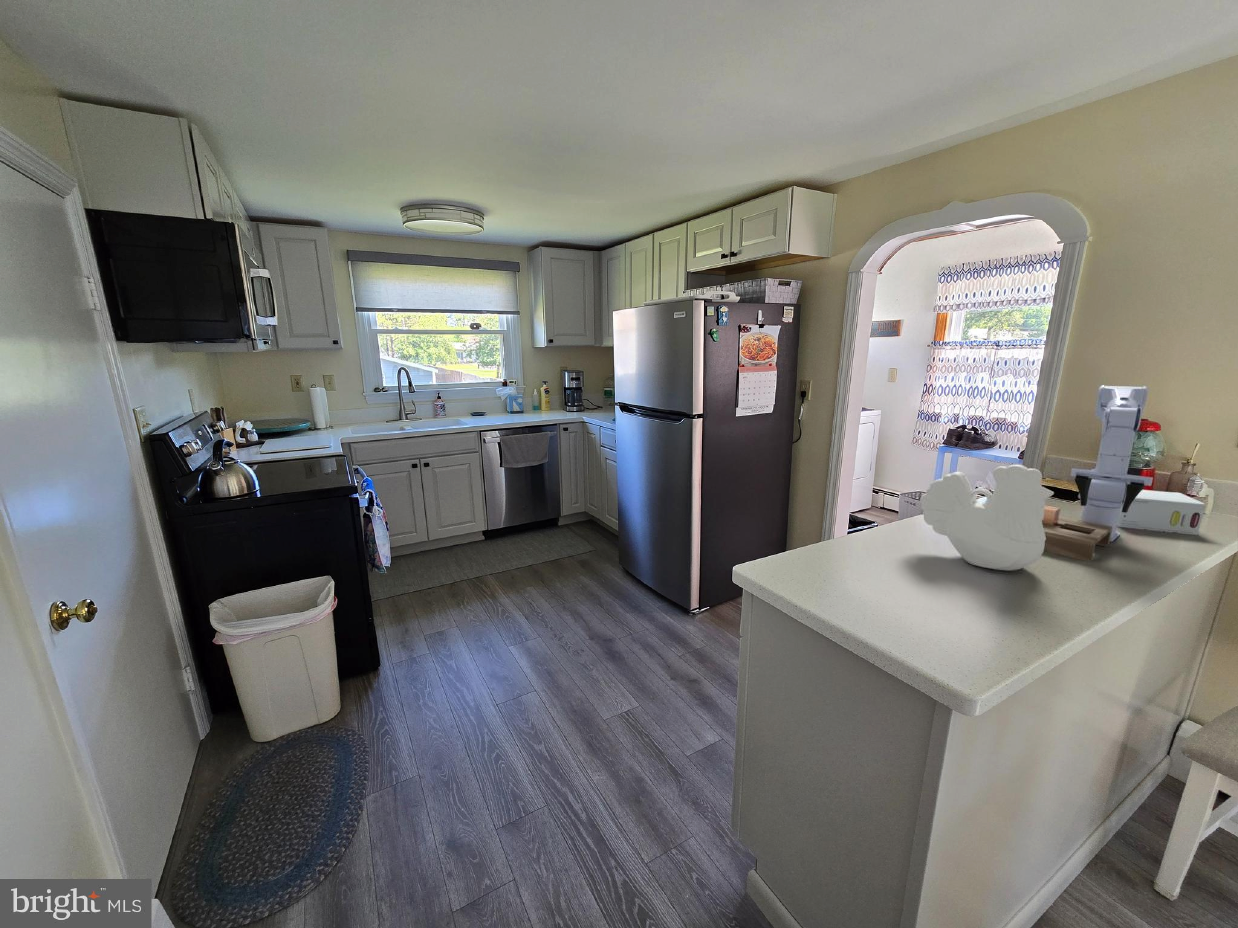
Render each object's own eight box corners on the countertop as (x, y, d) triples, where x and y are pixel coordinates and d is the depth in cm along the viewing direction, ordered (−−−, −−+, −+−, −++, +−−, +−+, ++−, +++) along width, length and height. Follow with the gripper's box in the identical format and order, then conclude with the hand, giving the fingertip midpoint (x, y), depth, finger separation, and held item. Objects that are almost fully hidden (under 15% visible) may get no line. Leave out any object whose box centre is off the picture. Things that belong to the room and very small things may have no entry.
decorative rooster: (1052, 570, 115) (1072, 465, 110) (1018, 585, 108) (1038, 474, 102) (940, 537, 136) (952, 448, 131) (905, 548, 129) (917, 454, 124)
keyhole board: (1032, 528, 143) (1035, 511, 142) (1108, 544, 130) (1112, 526, 129) (1009, 542, 133) (1012, 524, 132) (1089, 561, 120) (1093, 541, 119)
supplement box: (1117, 527, 144) (1124, 496, 142) (1098, 514, 155) (1104, 485, 153) (1199, 536, 136) (1207, 503, 134) (1172, 521, 148) (1180, 491, 146)
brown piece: (1035, 532, 137) (1040, 504, 135) (1056, 536, 133) (1061, 508, 132) (1030, 535, 134) (1035, 507, 133) (1050, 540, 131) (1056, 511, 129)
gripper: (1071, 452, 128) (1061, 503, 129) (1153, 459, 116) (1141, 516, 118) (1078, 451, 132) (1069, 502, 134) (1158, 459, 120) (1146, 514, 122)
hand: (1103, 508), depth 126 cm, fingers open, 7 cm apart
